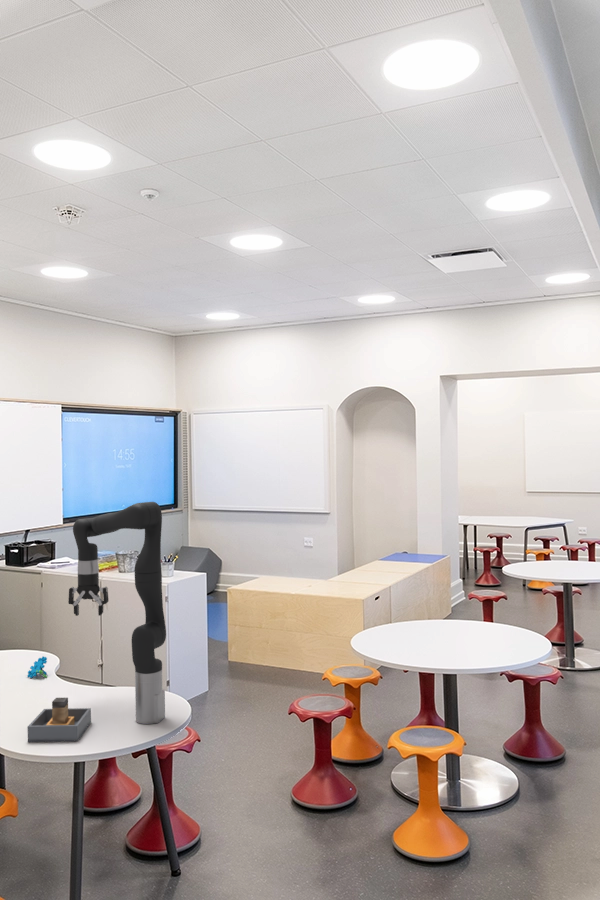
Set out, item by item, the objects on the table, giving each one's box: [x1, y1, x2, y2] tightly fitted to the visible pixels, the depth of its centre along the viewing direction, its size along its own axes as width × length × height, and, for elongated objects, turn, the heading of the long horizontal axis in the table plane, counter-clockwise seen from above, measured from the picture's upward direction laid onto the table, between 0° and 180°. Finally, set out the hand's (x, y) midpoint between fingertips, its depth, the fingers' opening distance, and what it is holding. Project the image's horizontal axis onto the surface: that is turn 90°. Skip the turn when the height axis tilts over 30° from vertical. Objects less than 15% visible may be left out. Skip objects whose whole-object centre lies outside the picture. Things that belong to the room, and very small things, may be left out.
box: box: [27, 707, 92, 743], centre depth 246 cm, size 16×16×5 cm
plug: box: [51, 697, 69, 724], centre depth 246 cm, size 4×4×10 cm
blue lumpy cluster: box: [27, 655, 48, 679], centre depth 307 cm, size 11×6×10 cm
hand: (88, 615), depth 275 cm, fingers open, 8 cm apart
